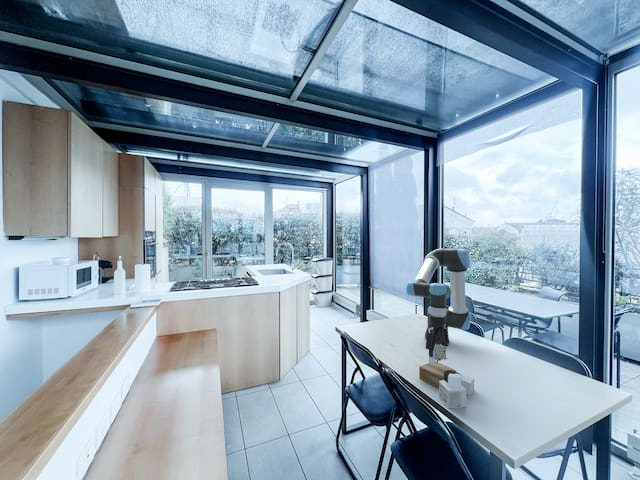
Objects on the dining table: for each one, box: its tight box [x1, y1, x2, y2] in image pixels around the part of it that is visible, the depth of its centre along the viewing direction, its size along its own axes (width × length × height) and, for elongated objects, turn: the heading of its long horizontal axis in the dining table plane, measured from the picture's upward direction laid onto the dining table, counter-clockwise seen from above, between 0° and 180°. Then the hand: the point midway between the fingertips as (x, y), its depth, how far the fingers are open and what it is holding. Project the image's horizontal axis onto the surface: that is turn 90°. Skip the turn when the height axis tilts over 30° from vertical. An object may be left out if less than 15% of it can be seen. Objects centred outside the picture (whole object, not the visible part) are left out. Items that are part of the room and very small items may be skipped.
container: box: [438, 370, 467, 409], centre depth 112 cm, size 8×8×13 cm
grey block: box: [459, 373, 475, 397], centre depth 120 cm, size 6×6×6 cm
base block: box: [418, 360, 457, 390], centre depth 129 cm, size 12×12×6 cm
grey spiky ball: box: [434, 343, 448, 363], centre depth 129 cm, size 9×8×10 cm
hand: (437, 360), depth 129 cm, fingers closed on grey spiky ball, 8 cm apart
